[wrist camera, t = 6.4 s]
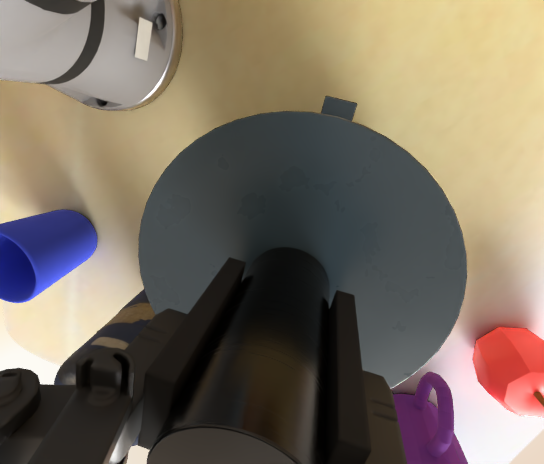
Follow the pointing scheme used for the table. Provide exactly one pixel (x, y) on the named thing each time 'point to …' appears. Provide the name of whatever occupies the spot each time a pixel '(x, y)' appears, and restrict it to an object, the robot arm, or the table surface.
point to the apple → (512, 369)
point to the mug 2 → (428, 424)
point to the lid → (295, 276)
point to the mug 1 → (42, 252)
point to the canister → (111, 337)
